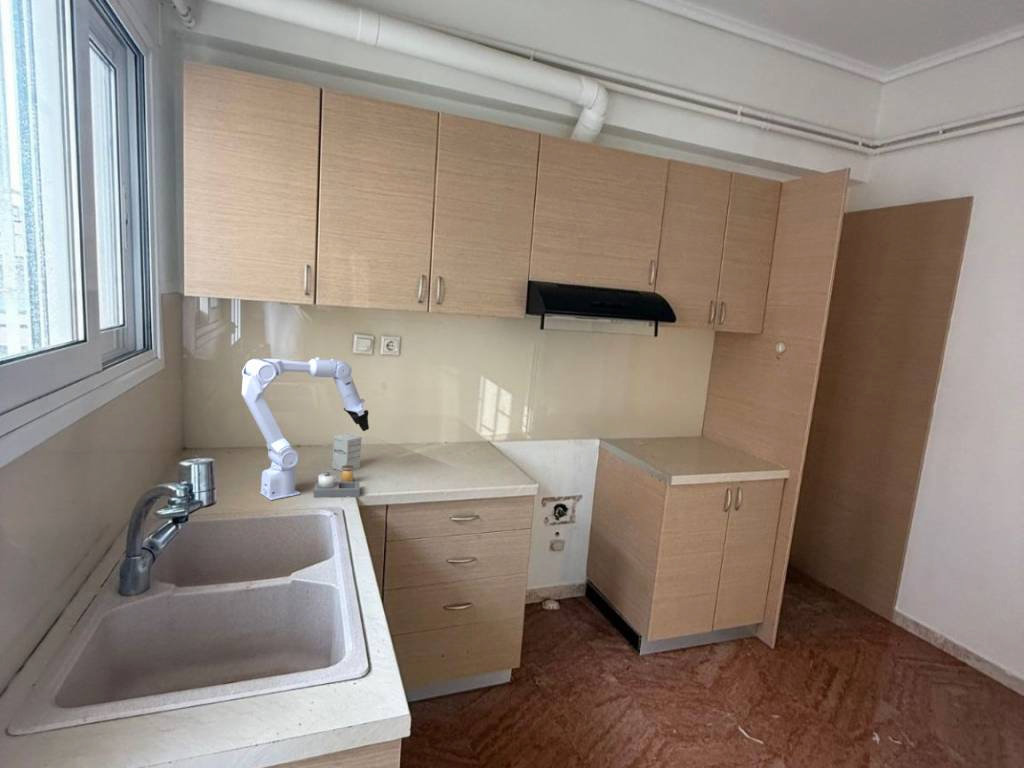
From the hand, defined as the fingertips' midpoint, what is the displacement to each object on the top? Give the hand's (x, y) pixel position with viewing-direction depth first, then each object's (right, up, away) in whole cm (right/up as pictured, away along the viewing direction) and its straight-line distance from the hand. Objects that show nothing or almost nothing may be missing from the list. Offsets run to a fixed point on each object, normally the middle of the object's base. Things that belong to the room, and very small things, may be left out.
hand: (362, 426), depth 183 cm
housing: (-5, -21, -12) cm, 25 cm away
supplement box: (-10, -17, +13) cm, 24 cm away
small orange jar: (-5, -20, -2) cm, 20 cm away
